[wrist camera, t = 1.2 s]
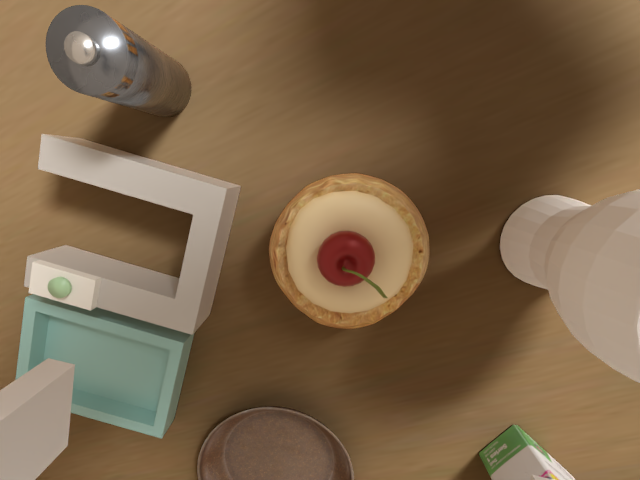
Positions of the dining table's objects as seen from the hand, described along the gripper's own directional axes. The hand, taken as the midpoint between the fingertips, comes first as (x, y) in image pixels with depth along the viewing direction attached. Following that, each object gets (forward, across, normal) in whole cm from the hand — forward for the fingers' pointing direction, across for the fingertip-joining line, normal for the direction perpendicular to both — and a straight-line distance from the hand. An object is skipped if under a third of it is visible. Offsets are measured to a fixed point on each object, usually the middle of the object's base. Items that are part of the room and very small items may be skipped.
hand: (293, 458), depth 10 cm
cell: (+21, -16, +11) cm, 29 cm away
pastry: (+22, +2, +2) cm, 22 cm away
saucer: (+22, 0, -21) cm, 30 cm away
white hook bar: (+21, -17, -1) cm, 27 cm away
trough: (+21, -17, -14) cm, 31 cm away
